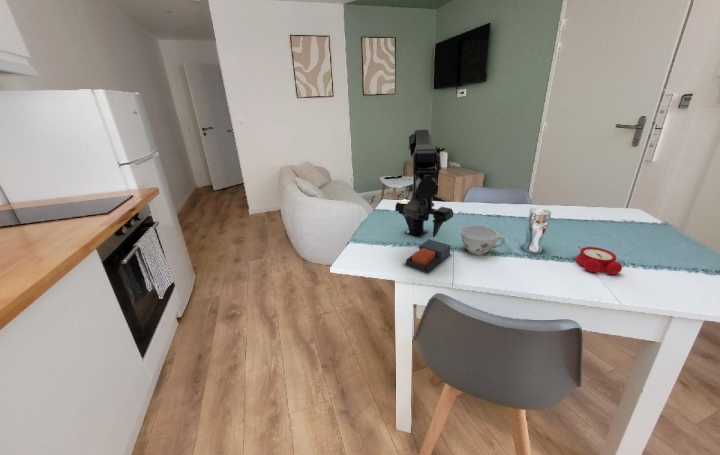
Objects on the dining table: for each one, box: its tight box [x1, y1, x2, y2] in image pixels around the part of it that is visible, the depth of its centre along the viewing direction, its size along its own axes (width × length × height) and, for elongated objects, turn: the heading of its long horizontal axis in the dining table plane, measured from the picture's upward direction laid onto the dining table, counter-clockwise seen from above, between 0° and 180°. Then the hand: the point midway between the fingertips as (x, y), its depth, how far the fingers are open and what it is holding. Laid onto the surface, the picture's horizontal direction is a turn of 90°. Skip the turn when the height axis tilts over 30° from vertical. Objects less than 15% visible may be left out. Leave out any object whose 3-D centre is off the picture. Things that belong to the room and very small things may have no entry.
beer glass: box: [522, 207, 552, 254], centre depth 104 cm, size 7×7×15 cm
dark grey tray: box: [404, 238, 452, 274], centre depth 102 cm, size 16×9×4 cm, turn 138°
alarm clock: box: [575, 246, 623, 275], centre depth 93 cm, size 10×6×15 cm
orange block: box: [411, 248, 435, 268], centre depth 100 cm, size 7×5×4 cm
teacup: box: [460, 224, 506, 256], centre depth 105 cm, size 15×12×8 cm
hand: (422, 233), depth 99 cm, fingers open, 9 cm apart
